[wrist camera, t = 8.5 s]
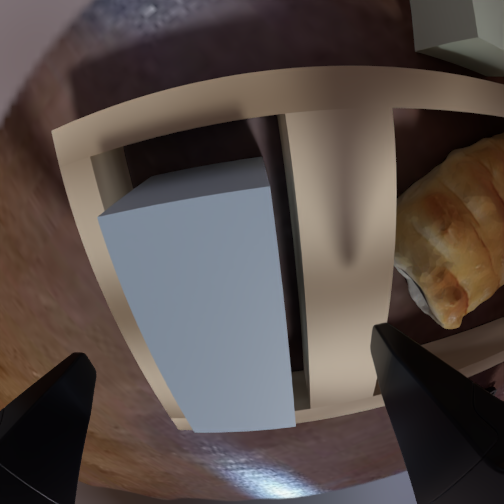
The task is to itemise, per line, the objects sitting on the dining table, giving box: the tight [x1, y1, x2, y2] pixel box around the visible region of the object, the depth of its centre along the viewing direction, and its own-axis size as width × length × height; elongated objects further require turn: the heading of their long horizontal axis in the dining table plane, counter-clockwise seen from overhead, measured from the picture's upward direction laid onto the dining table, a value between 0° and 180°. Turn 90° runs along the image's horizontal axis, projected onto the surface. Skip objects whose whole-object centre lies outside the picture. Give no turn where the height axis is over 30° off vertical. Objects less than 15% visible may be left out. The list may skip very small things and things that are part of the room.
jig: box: [52, 66, 504, 430], centre depth 10 cm, size 14×31×2 cm, turn 99°
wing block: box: [97, 157, 296, 433], centre depth 10 cm, size 9×4×4 cm, turn 8°
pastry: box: [394, 132, 504, 329], centre depth 9 cm, size 9×7×4 cm
